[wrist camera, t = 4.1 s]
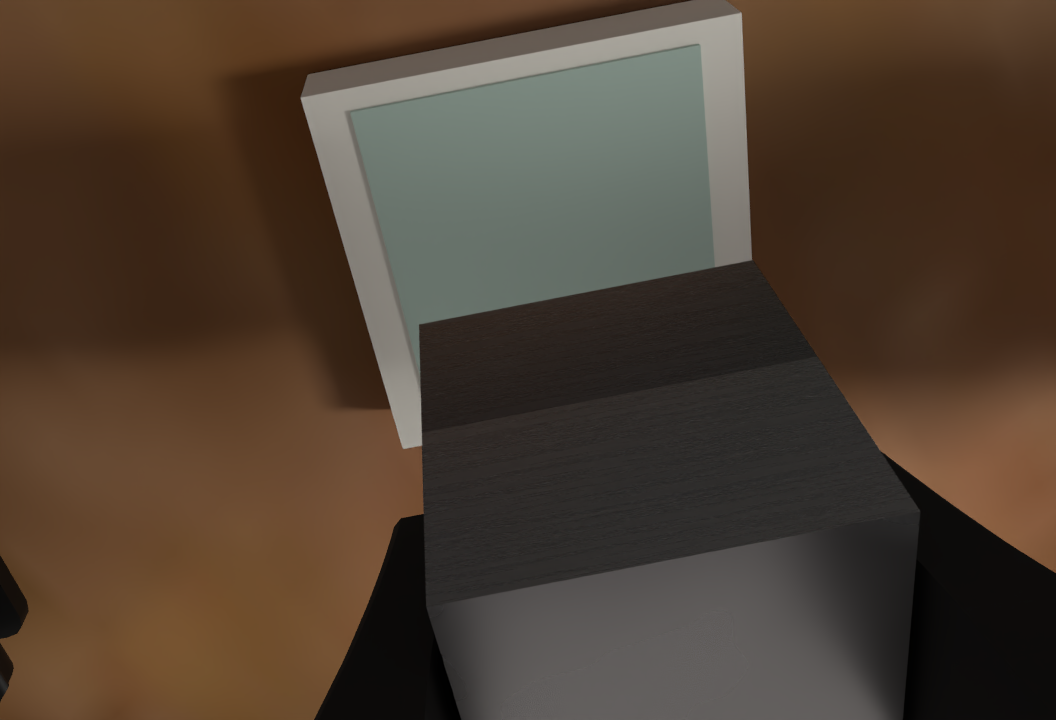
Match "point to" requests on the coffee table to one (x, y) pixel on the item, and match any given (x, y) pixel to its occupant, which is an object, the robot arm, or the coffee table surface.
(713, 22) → the stand
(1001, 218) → the coffee table surface
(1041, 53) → the coffee table surface
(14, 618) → the end cap
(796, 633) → the block
